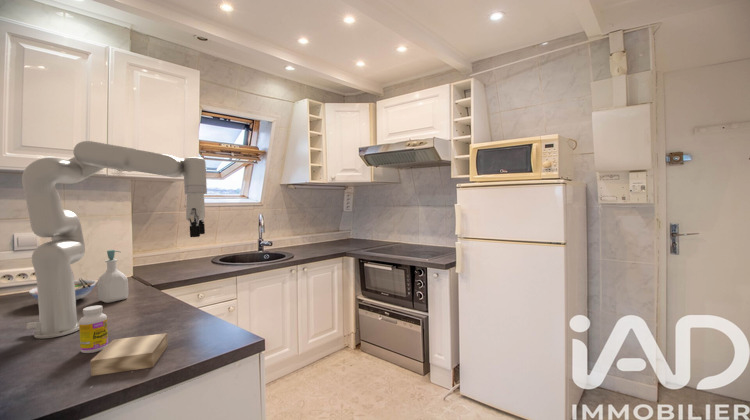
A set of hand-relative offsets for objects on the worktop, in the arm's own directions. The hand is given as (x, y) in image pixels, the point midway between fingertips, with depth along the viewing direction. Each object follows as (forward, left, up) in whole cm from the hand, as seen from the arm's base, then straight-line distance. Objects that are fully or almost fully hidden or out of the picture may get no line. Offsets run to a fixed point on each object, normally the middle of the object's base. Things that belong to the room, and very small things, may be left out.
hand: (197, 235), depth 132 cm
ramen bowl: (-63, +42, -31) cm, 82 cm away
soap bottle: (-43, +38, -31) cm, 65 cm away
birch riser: (-12, -33, -31) cm, 47 cm away
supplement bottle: (-26, -21, -31) cm, 46 cm away
